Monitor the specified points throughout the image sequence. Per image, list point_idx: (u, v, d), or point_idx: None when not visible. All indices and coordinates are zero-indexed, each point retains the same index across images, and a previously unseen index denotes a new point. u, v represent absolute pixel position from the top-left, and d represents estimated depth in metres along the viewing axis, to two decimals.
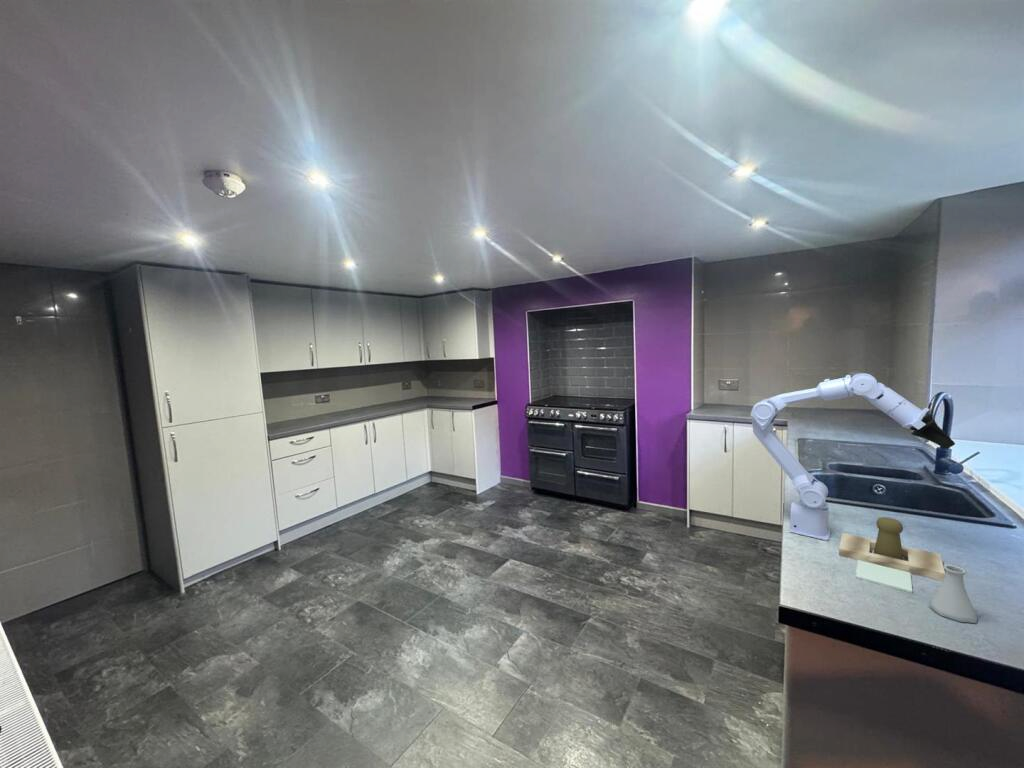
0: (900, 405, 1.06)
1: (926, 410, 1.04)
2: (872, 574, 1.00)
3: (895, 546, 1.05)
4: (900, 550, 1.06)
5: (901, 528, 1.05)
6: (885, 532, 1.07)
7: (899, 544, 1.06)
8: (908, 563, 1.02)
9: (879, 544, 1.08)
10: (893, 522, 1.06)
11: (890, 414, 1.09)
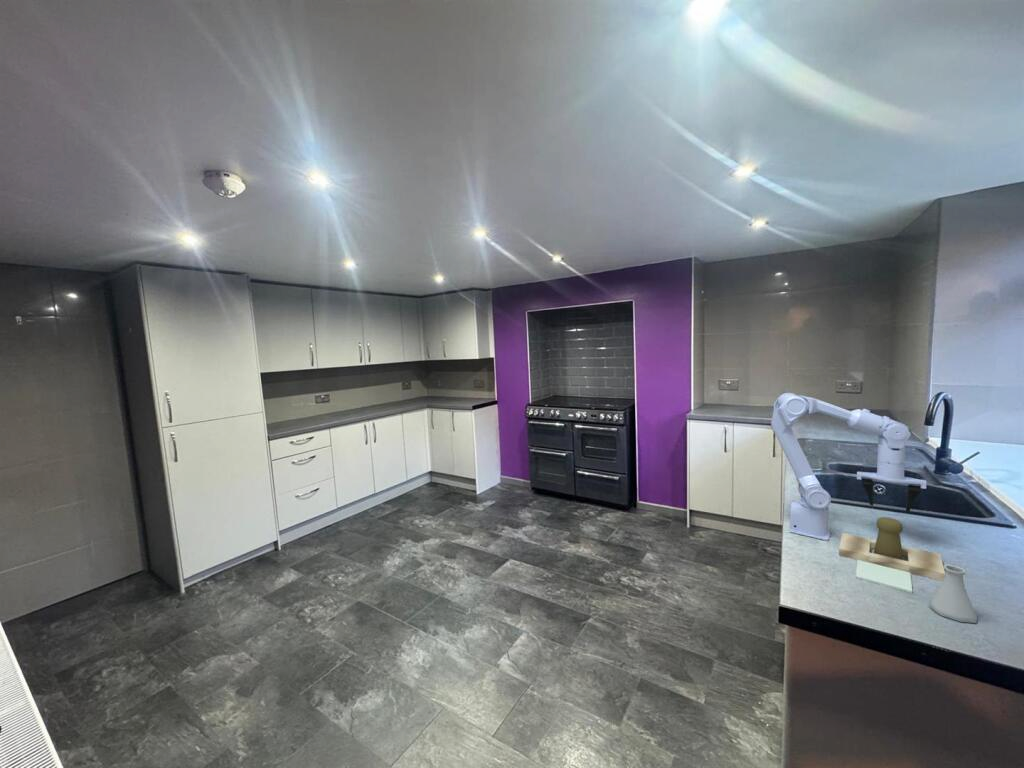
0: None
1: None
2: (872, 574, 1.00)
3: (895, 546, 1.05)
4: (900, 550, 1.06)
5: (901, 528, 1.05)
6: (885, 532, 1.07)
7: (899, 544, 1.06)
8: (908, 563, 1.02)
9: (879, 544, 1.08)
10: (893, 522, 1.06)
11: (899, 466, 1.12)
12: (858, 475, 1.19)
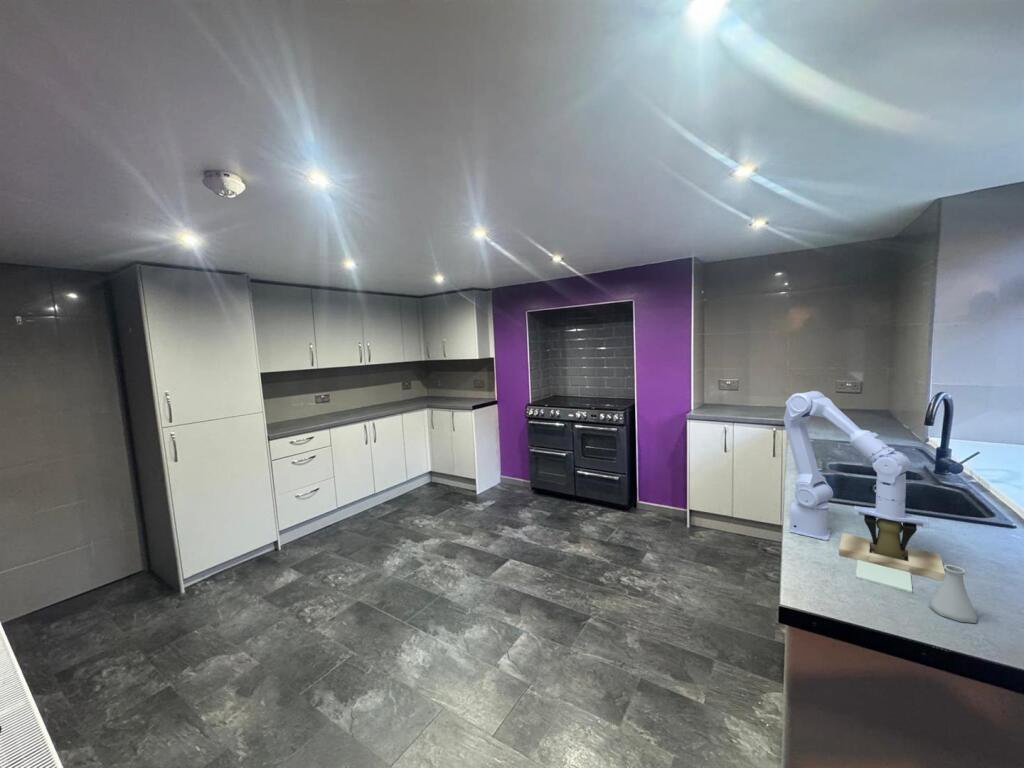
0: None
1: None
2: (872, 574, 1.00)
3: (895, 546, 1.05)
4: (900, 550, 1.06)
5: (901, 528, 1.05)
6: (885, 532, 1.07)
7: (899, 544, 1.06)
8: (908, 563, 1.02)
9: (879, 544, 1.08)
10: (893, 522, 1.06)
11: (899, 503, 1.04)
12: (855, 510, 1.11)
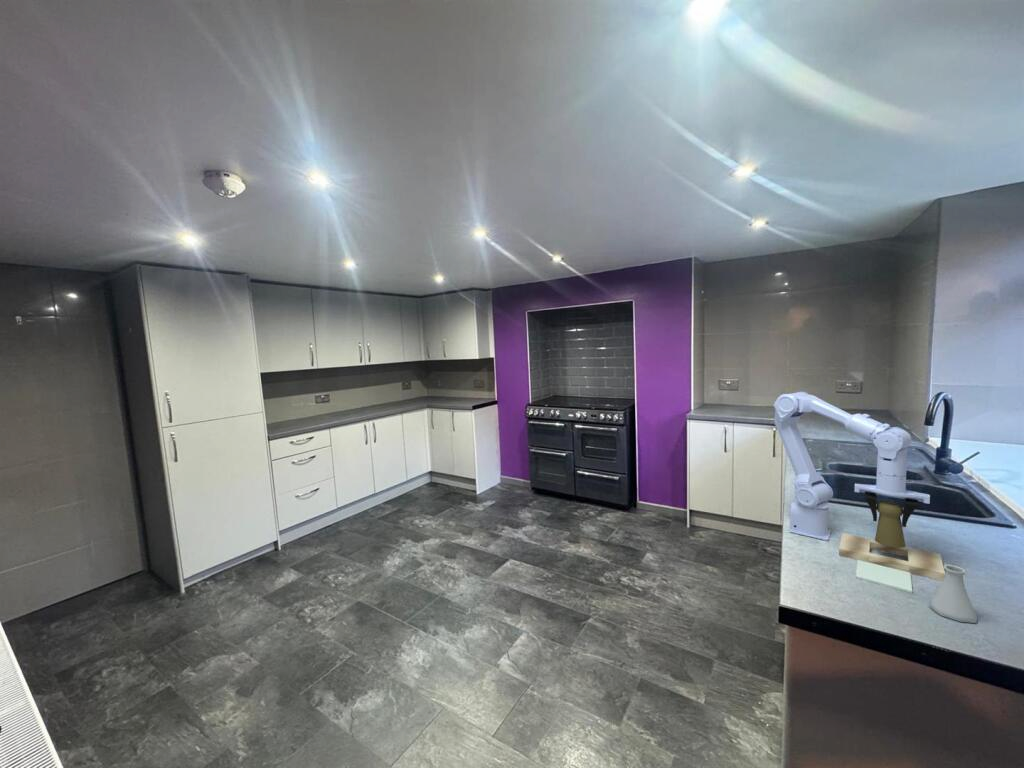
0: None
1: None
2: (872, 574, 1.00)
3: (895, 530, 1.05)
4: (901, 533, 1.05)
5: (901, 511, 1.05)
6: (884, 515, 1.06)
7: (900, 527, 1.05)
8: (908, 563, 1.02)
9: (879, 528, 1.08)
10: (893, 505, 1.05)
11: (900, 479, 1.04)
12: (856, 487, 1.11)
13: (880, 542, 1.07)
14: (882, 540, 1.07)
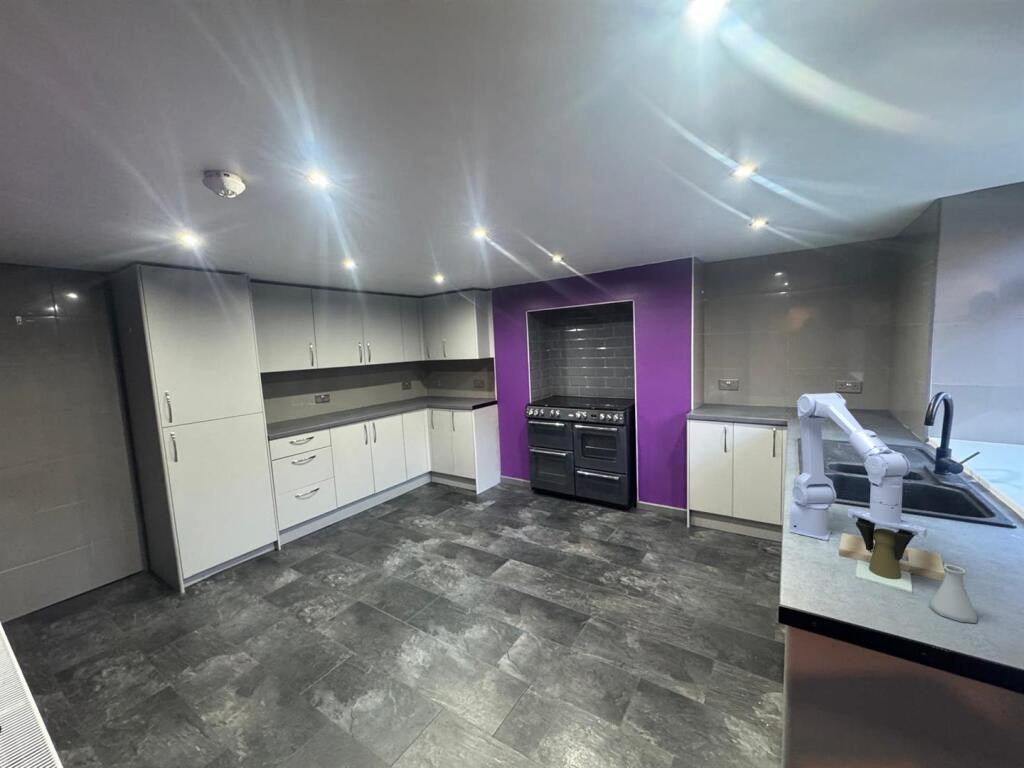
0: (901, 504, 0.97)
1: None
2: (872, 574, 1.00)
3: (887, 560, 0.98)
4: (894, 565, 0.98)
5: None
6: (878, 543, 1.00)
7: (893, 558, 0.98)
8: (908, 563, 1.02)
9: (872, 555, 1.01)
10: (887, 534, 0.98)
11: (890, 507, 0.96)
12: (849, 512, 1.05)
13: (871, 570, 1.01)
14: (873, 568, 1.01)
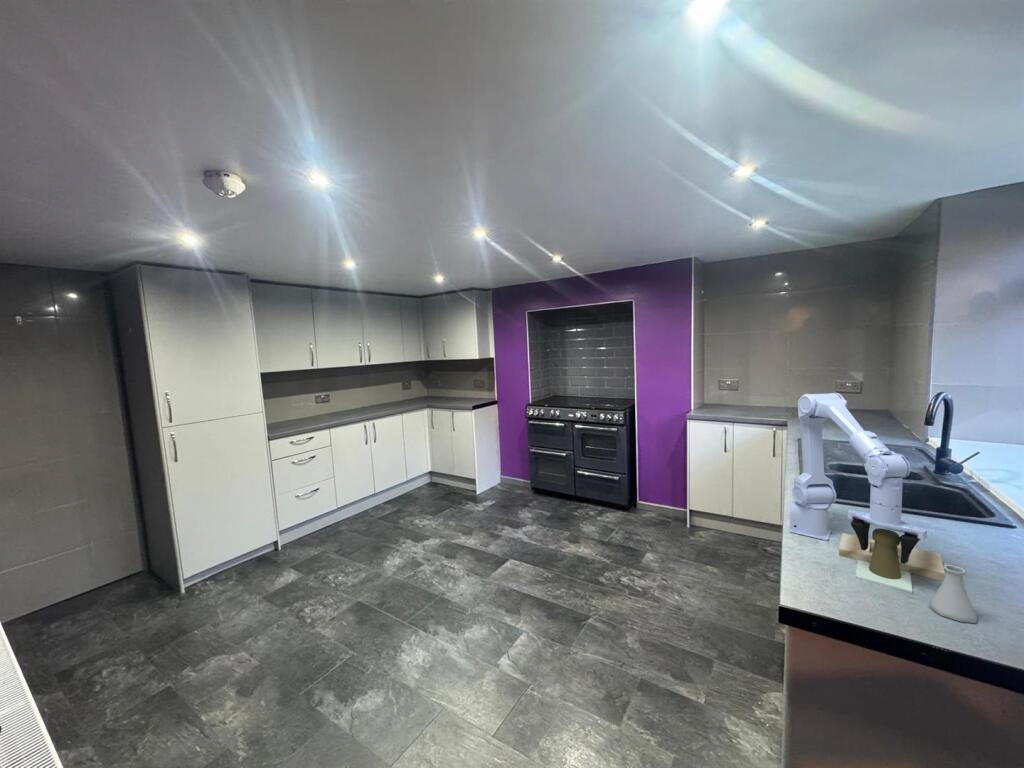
0: (901, 506, 0.97)
1: None
2: (872, 574, 1.00)
3: (887, 560, 0.98)
4: (894, 565, 0.98)
5: (895, 541, 0.98)
6: (877, 543, 1.00)
7: (893, 558, 0.98)
8: (908, 563, 1.02)
9: (872, 555, 1.01)
10: (886, 534, 0.99)
11: (890, 509, 0.96)
12: (849, 514, 1.05)
13: (871, 570, 1.01)
14: (873, 568, 1.01)
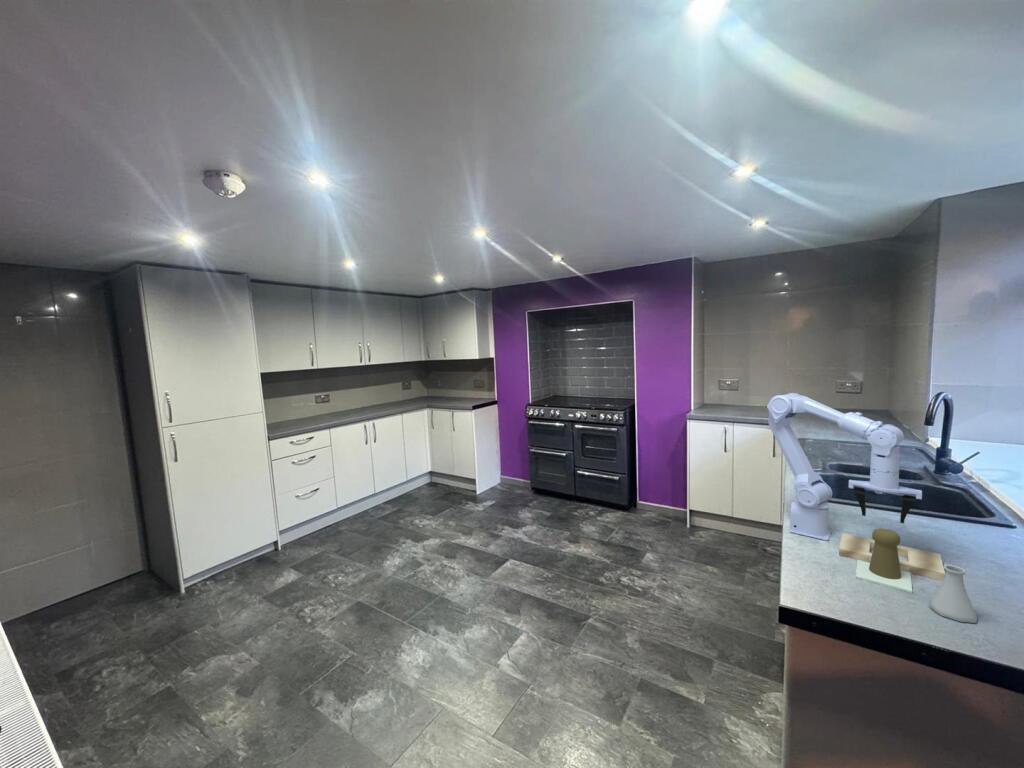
0: None
1: None
2: (872, 574, 1.00)
3: (887, 560, 0.98)
4: (894, 565, 0.98)
5: (895, 541, 0.98)
6: (877, 543, 1.00)
7: (893, 558, 0.98)
8: (908, 563, 1.02)
9: (872, 555, 1.01)
10: (886, 534, 0.99)
11: (892, 475, 1.06)
12: (850, 484, 1.13)
13: (871, 570, 1.01)
14: (873, 568, 1.01)
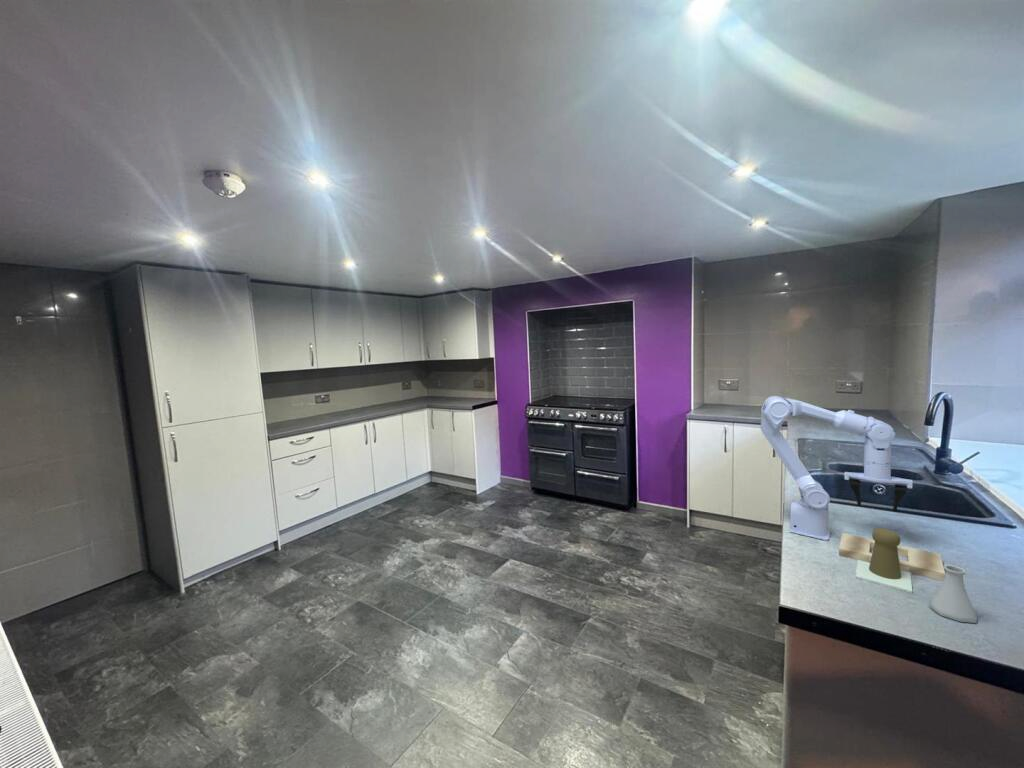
0: None
1: None
2: (872, 574, 1.00)
3: (887, 560, 0.98)
4: (894, 565, 0.98)
5: (895, 541, 0.98)
6: (877, 543, 1.00)
7: (893, 558, 0.98)
8: (908, 563, 1.02)
9: (872, 555, 1.01)
10: (886, 534, 0.99)
11: (885, 466, 1.13)
12: (845, 475, 1.20)
13: (871, 570, 1.01)
14: (873, 568, 1.01)
